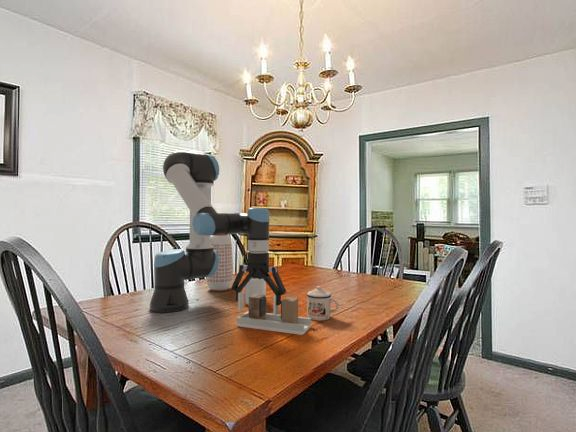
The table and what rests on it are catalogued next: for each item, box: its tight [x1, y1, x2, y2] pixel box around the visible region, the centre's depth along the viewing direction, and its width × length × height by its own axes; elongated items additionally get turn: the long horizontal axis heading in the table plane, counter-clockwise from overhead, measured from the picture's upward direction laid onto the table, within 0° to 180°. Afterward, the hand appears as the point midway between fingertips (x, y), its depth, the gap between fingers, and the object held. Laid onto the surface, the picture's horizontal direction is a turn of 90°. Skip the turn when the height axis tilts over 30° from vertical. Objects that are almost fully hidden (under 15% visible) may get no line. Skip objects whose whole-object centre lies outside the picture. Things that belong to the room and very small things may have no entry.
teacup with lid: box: [306, 285, 340, 322], centre depth 133 cm, size 12×9×12 cm
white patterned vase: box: [205, 234, 234, 292], centre depth 180 cm, size 13×13×28 cm
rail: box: [236, 296, 312, 336], centre depth 123 cm, size 24×9×10 cm, turn 69°
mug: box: [244, 278, 267, 307], centre depth 154 cm, size 12×9×11 cm
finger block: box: [248, 294, 267, 320], centre depth 125 cm, size 5×5×9 cm
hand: (258, 312), depth 125 cm, fingers open, 13 cm apart
